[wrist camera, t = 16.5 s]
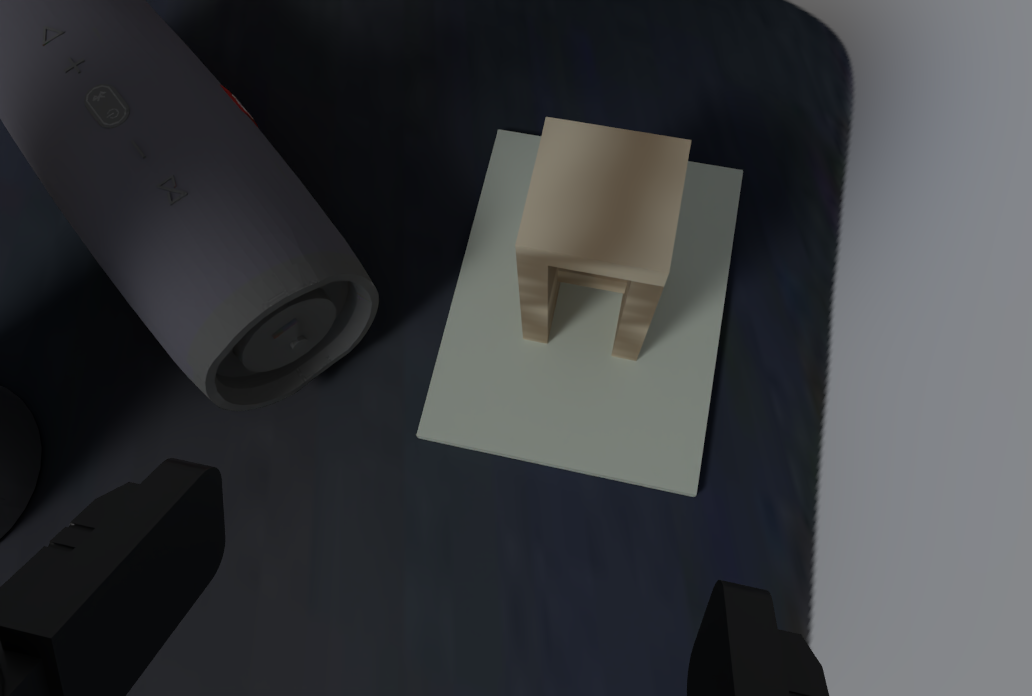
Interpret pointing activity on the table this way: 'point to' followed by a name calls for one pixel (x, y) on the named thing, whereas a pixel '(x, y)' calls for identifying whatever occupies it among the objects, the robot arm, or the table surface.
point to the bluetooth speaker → (180, 198)
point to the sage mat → (584, 345)
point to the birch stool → (600, 223)
